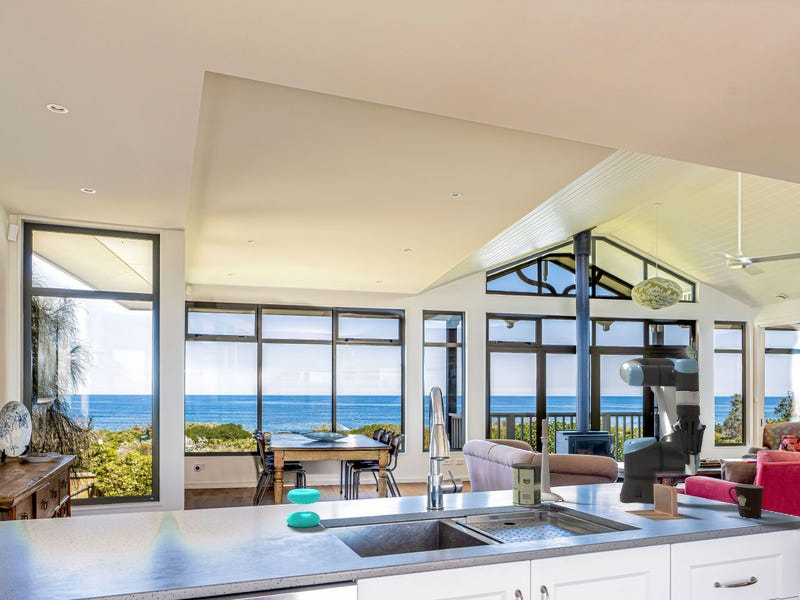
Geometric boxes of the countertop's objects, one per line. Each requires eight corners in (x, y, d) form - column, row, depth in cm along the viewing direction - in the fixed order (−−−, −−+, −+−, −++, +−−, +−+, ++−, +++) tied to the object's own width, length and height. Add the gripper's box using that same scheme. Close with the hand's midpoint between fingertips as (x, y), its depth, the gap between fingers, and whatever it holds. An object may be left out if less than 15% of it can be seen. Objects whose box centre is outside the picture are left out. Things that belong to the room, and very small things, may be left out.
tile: (654, 511, 232) (653, 483, 234) (659, 510, 233) (658, 483, 234) (672, 516, 224) (671, 487, 225) (677, 515, 225) (676, 487, 226)
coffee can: (532, 501, 252) (532, 462, 254) (546, 506, 242) (546, 466, 244) (507, 502, 249) (506, 463, 251) (519, 507, 239) (519, 466, 241)
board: (623, 513, 231) (623, 511, 232) (658, 511, 236) (658, 509, 236) (655, 523, 216) (655, 520, 216) (691, 520, 221) (691, 518, 221)
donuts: (318, 487, 213) (322, 492, 204) (318, 520, 212) (322, 527, 203) (286, 488, 211) (288, 493, 201) (285, 522, 210) (287, 528, 200)
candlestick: (561, 497, 264) (560, 417, 267) (565, 502, 251) (563, 419, 255) (527, 495, 265) (526, 417, 269) (529, 501, 253) (528, 418, 256)
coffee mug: (769, 519, 225) (768, 488, 226) (743, 519, 225) (741, 487, 226) (752, 512, 236) (751, 483, 237) (727, 512, 236) (725, 482, 238)
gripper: (680, 404, 230) (682, 476, 227) (711, 404, 234) (714, 475, 232) (664, 403, 237) (667, 473, 234) (695, 404, 242) (697, 472, 239)
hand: (690, 474), depth 233 cm, fingers closed
